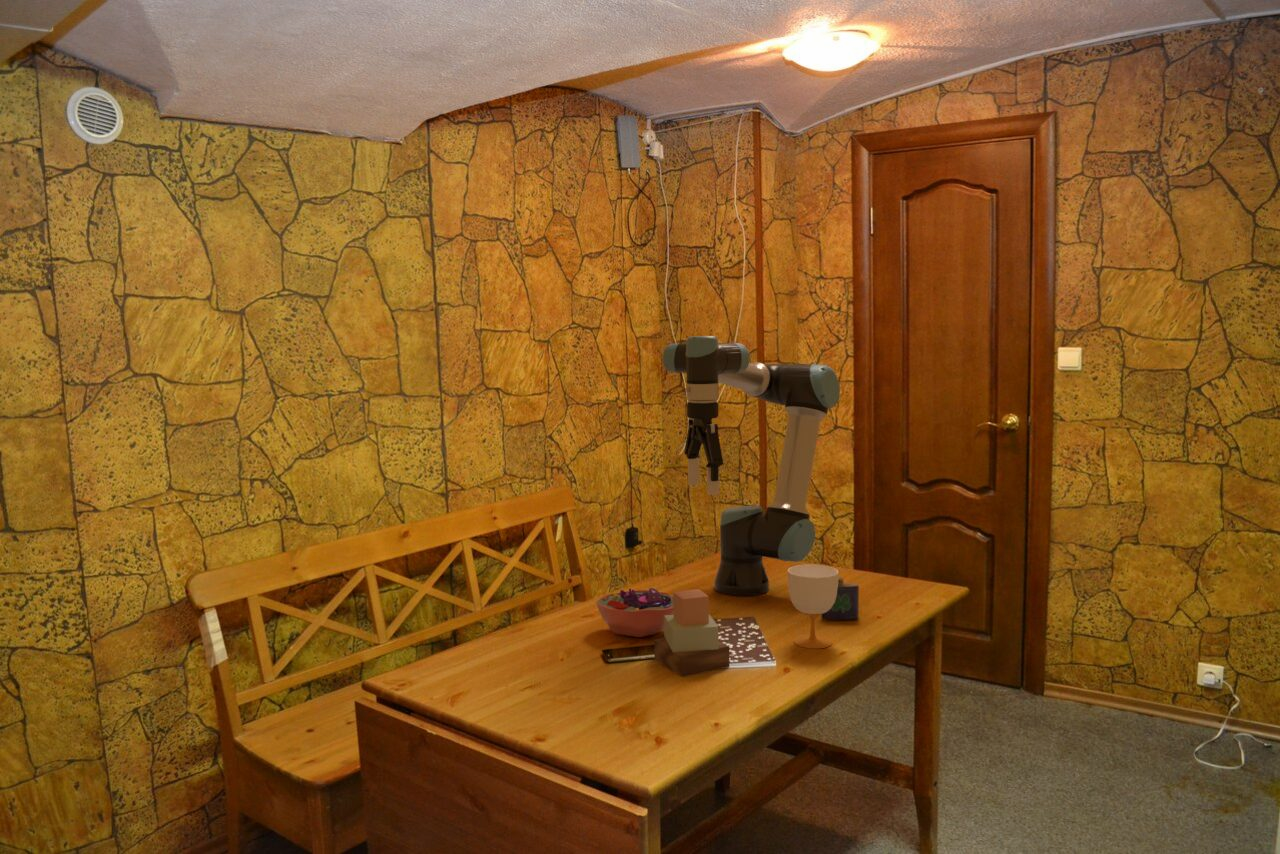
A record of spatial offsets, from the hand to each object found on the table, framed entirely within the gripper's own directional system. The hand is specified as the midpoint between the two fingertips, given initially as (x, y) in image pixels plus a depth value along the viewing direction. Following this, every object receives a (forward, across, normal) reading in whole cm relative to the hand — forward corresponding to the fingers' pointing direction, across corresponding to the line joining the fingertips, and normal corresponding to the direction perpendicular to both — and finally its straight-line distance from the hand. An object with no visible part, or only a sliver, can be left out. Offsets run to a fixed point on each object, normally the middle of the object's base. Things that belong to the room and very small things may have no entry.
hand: (703, 489), depth 222 cm
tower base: (+35, +20, -10) cm, 42 cm away
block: (+25, +19, -10) cm, 33 cm away
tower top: (+30, +20, -10) cm, 37 cm away
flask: (+35, +3, +35) cm, 50 cm away
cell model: (+35, -3, -16) cm, 39 cm away
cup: (+35, +16, +21) cm, 44 cm away
